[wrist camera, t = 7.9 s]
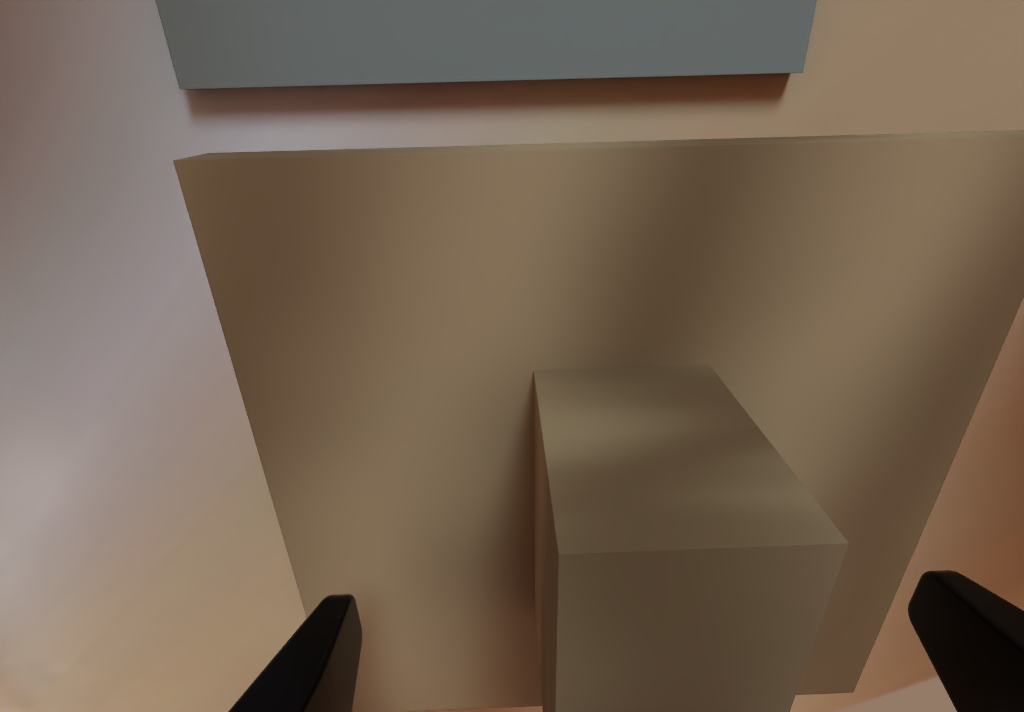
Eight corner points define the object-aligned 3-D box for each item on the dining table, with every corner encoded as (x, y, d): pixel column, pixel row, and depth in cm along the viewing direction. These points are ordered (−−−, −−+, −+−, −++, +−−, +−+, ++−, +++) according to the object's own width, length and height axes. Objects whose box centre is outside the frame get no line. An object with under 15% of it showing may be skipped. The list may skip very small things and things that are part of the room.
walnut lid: (1030, 129, 8) (1630, 174, 4) (830, 654, 14) (983, 912, 10) (208, 153, 8) (-132, 226, 4) (345, 674, 14) (275, 946, 10)
